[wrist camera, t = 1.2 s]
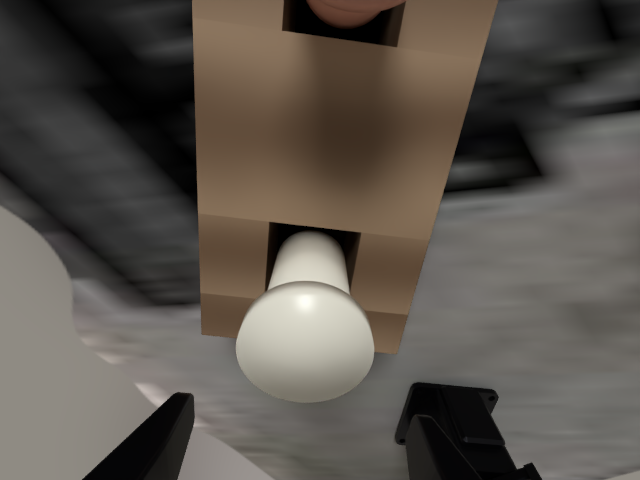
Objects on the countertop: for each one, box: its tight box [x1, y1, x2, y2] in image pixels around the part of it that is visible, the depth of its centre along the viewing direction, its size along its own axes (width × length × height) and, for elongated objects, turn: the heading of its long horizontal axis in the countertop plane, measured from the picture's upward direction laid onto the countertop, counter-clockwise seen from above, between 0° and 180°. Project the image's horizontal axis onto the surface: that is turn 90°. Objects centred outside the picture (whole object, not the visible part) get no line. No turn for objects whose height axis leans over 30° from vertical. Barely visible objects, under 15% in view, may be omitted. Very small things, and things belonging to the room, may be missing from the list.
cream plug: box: [236, 230, 374, 403], centre depth 13 cm, size 4×4×6 cm
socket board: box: [192, 0, 498, 354], centre depth 15 cm, size 20×10×5 cm, turn 173°
